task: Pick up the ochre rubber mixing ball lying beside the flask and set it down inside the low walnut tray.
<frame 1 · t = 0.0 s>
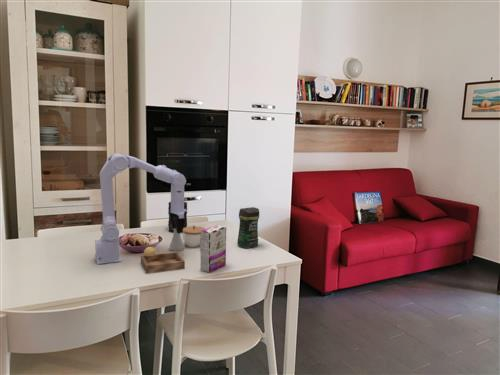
hand: (177, 230, 173), 10 cm above the table, fingers open, 7 cm apart
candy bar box: (212, 268, 159), on the table
ball: (150, 258, 166), on the table
flask: (176, 249, 180), on the table
storage jar: (177, 230, 209), on the table
lidded jar: (193, 245, 186), on the table
coffee jar: (247, 246, 188), on the table
tray: (162, 265, 159), on the table
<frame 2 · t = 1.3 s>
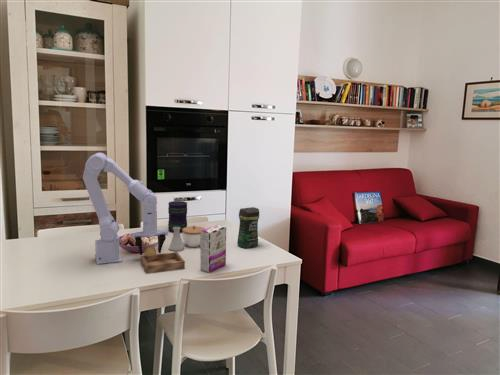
hand: (150, 253, 166), 2 cm above the table, fingers open, 7 cm apart
nothing on the table moved.
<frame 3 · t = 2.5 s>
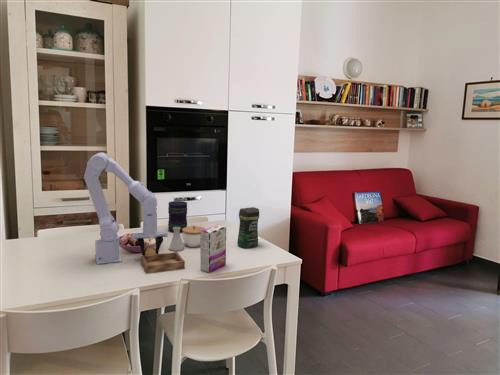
hand: (150, 254, 166), 2 cm above the table, fingers closed on ball, 5 cm apart
ball: (150, 258, 166), on the table, touching gripper
everything else where it was.
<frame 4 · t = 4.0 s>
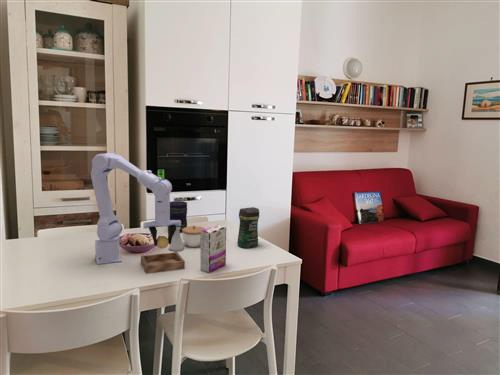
hand: (162, 244, 157), 9 cm above the table, fingers closed on ball, 5 cm apart
ball: (162, 248, 158), point 7 cm above the table, touching gripper
everything else where it was.
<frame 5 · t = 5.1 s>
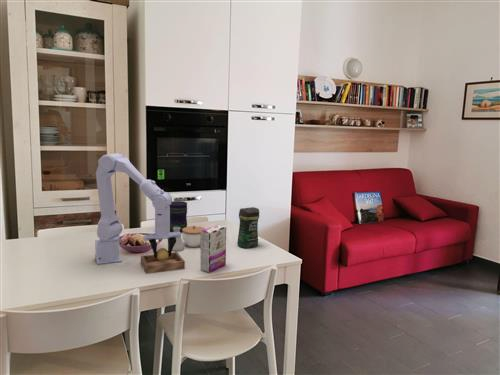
hand: (162, 256, 158), 4 cm above the table, fingers closed on ball, 5 cm apart
ball: (162, 260, 158), point 2 cm above the table, touching gripper
everything else where it was.
when the fingers open (4 cm above the table, at t = 5.8 s): ball drops 2 cm, resting on tray.
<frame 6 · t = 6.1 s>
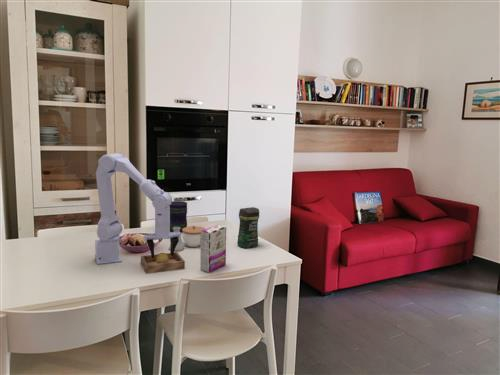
hand: (162, 256, 158), 4 cm above the table, fingers open, 7 cm apart
ball: (162, 264, 159), resting on tray
everything else where it was.
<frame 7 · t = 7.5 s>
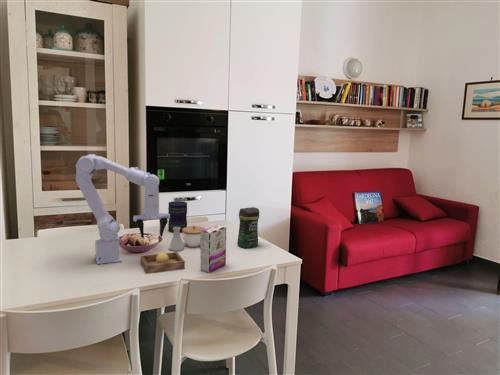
hand: (151, 236, 164), 10 cm above the table, fingers open, 7 cm apart
nothing on the table moved.
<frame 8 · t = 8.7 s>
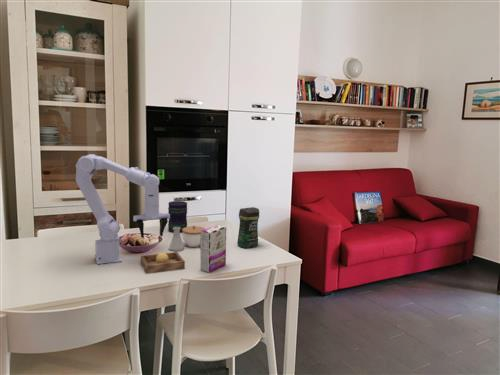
hand: (151, 236, 164), 10 cm above the table, fingers open, 7 cm apart
nothing on the table moved.
at the end: ball inside the target area on the tray (0.1 cm from its centre), point 0.3 cm above the tray's base; the gripper is holding nothing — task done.
